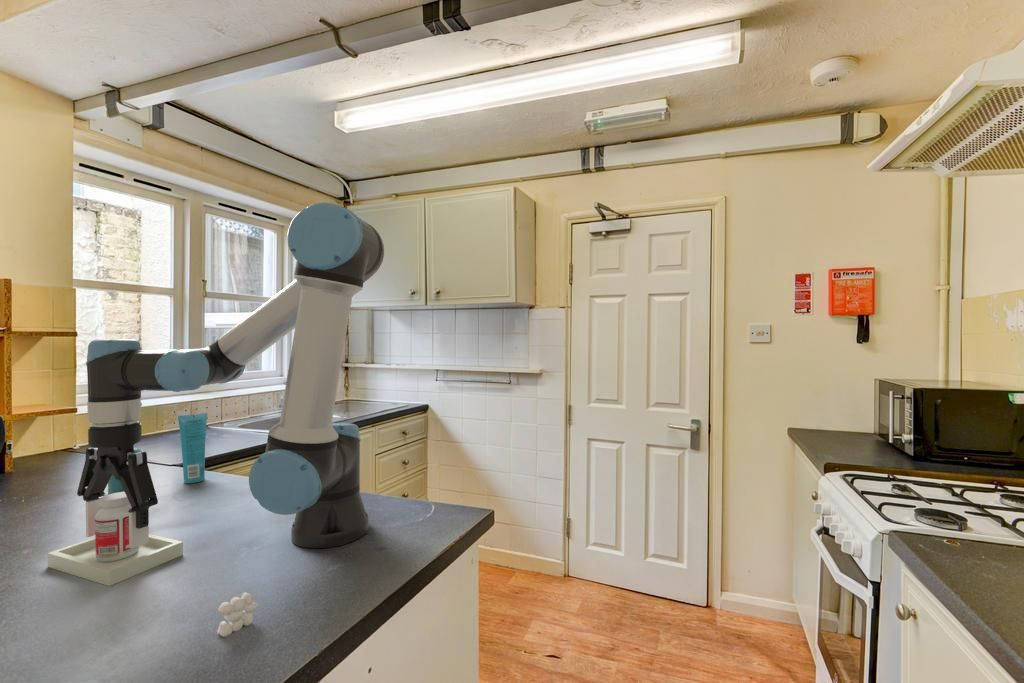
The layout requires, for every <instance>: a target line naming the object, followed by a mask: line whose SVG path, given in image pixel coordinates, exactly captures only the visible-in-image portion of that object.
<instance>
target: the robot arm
mask: <svg viewBox="0 0 1024 683" xmlns="http://www.w3.org/2000/svg"><path fill="white" fill-rule="evenodd" d="M287 244H288V248H289V251H290V252H291V254H292V256H293V257H294V259H295V260H296V261H295V265H294V266H295V267H294V272H293V278H294V279H295V280H293V281H292V282H291V283H289V284H288V285H287V286H285V287H284V288H283V289H281V290H280V291H279V292H277V293H276V294H275V295H274V296H272V297H271V298H270V299H268V300H267V301H266V302H265V303H263V304H261V305H260V306H259V307H258V308H257V309H255V310H254V311H253V312H251V313H250V314H249V315H247V316H246V317H245V318H243V319H242V320H241V321H239V322H238V323H237V324H236V325H234V326H233V327H231V328H230V329H229V330H228V331H226V332H225V333H224V334H223V335H221V336H220V337H219V338H217V339H216V340H214V341H213V342H212V343H211V344H209V345H208V346H206V347H204V348H186V349H185V348H182V349H181V348H177V349H176V348H175V349H148V350H146V349H142V347H141V342H140V341H139V340H138V339H132V338H131V339H129V338H128V339H127V338H126V339H125V338H124V339H121V338H120V339H118V338H117V339H113V338H112V339H94V340H92V341H90V342H89V344H88V345H87V354H86V355H87V356H86V361H85V365H86V375H87V403H86V404H87V423H88V424H90V426H89V427H88V428H87V441H88V443H87V445H88V446H89V448H85V460H84V464H83V469H82V472H81V476H80V480H79V484H78V488H77V491H76V495H77V496H78V497H82V499H83V502H85V537H86V538H90V537H93V536H94V537H95V515H96V513H97V512H98V511H99V510H101V509H102V507H100V499H101V498H102V497H103V496H106V495H107V493H105V490H106V488H107V487H108V482H109V480H110V478H111V476H112V475H114V477H115V479H117V480H119V481H120V483H121V485H122V487H123V489H124V491H125V494H126V496H127V498H128V500H129V502H130V505H131V507H132V508H131V509H130V510H129V511H128V512H129V548H135V547H137V546H140V545H143V544H145V543H148V542H149V534H150V532H149V523H150V520H149V516H150V515H149V508H151V507H153V506H157V505H158V503H159V500H158V496H157V493H156V490H155V486H154V482H153V479H152V476H151V472H150V468H149V465H148V453H147V451H145V450H144V451H143V450H142V452H138V453H135V451H134V448H135V443H136V444H138V443H140V442H141V440H142V434H143V433H142V423H141V421H139V420H140V419H141V418H142V406H143V403H142V400H141V399H142V392H143V391H154V392H155V391H157V392H158V391H160V392H177V393H179V392H185V391H195V390H198V389H200V388H202V386H203V387H204V386H208V385H215V384H216V385H219V384H220V385H222V384H227V383H229V382H231V381H235V380H237V379H239V378H240V377H241V376H242V375H243V374H244V372H245V369H246V365H248V364H249V363H251V362H252V361H253V360H254V359H256V358H257V357H259V356H260V355H261V354H262V353H264V352H265V351H267V349H269V348H271V347H272V346H273V345H275V344H276V343H277V342H279V341H280V340H281V339H282V338H284V337H285V336H287V335H288V334H289V333H290V332H292V331H294V332H293V338H292V345H291V350H290V351H291V352H290V357H289V364H288V370H287V376H286V382H285V388H284V395H283V400H282V407H281V408H282V409H281V411H280V412H281V413H280V419H279V422H278V423H276V424H275V425H273V426H272V427H271V428H270V429H269V430H268V435H267V440H266V446H265V447H266V448H265V452H263V453H262V454H260V456H258V457H257V459H256V460H255V461H254V462H253V464H252V465H251V468H250V470H249V474H248V485H249V489H250V492H251V494H252V495H251V496H252V497H253V498H254V499H255V500H256V501H257V503H258V504H259V505H260V506H261V507H262V508H264V510H266V511H268V512H270V513H273V514H276V515H283V516H290V515H295V517H294V522H293V523H292V526H291V529H290V530H291V535H290V536H291V543H292V544H294V545H296V546H298V547H302V548H306V549H323V548H324V549H325V548H332V547H333V548H334V547H339V546H342V545H345V544H349V543H352V542H354V541H356V540H359V539H360V538H362V537H363V536H364V535H366V534H367V532H368V531H369V529H370V528H369V527H370V525H369V521H370V520H369V519H370V518H369V515H368V513H367V512H366V509H365V506H364V505H365V504H364V502H363V499H362V495H361V488H360V486H361V484H360V482H361V478H360V477H361V473H360V472H361V471H360V470H361V468H360V467H361V460H360V459H361V456H360V455H361V451H360V450H361V449H360V448H361V445H360V444H361V437H360V429H359V426H358V425H357V424H354V423H348V422H333V417H334V409H335V404H336V398H337V391H338V386H339V380H340V374H341V370H342V369H341V368H342V361H343V356H344V348H345V344H346V337H347V331H348V325H349V320H350V319H349V318H350V314H351V313H350V312H351V305H352V301H353V297H354V296H355V295H356V294H358V293H359V292H361V291H362V290H363V288H364V283H365V282H367V281H368V280H370V278H372V277H373V276H374V274H376V273H377V272H378V270H379V269H380V268H381V266H382V264H383V263H384V262H383V261H384V257H385V246H384V242H383V240H382V236H381V235H380V233H379V232H378V231H377V230H376V229H375V228H374V227H373V225H372V224H371V225H370V224H369V223H368V222H366V221H364V220H363V219H361V218H360V217H359V216H357V215H356V214H355V213H354V212H353V211H352V210H350V209H349V208H346V207H343V206H341V205H340V204H339V205H338V204H336V203H332V202H324V201H323V202H316V203H313V204H310V205H308V206H306V207H305V208H304V209H302V210H299V212H297V214H296V215H295V216H294V217H293V219H292V220H291V222H290V224H289V226H288V229H287ZM137 465H138V466H137Z"/></svg>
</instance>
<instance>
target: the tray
mask: <svg viewBox="0 0 1024 683" xmlns="http://www.w3.org/2000/svg"><path fill="white" fill-rule="evenodd" d="M181 556H184V541H181V540H176V539H174V538H168V537H164V536H160V535H156V534H151V533H149V542H148V543H145V544H143V545H140V546H139V550H138V551H137V552H136V553H135V554H133V555H131V556H129V557H126V558H123V559H120V560H116V561H110V562H100V561H98V560H97V559H96V541H95V536H94V537H92V538H89V539H85V540H83V541H80V542H76V543H74V544H71V545H69V546H68V545H67V546H65V547H61V548H59V549H56V550H52V551H49V552H48V553H47V568H50V569H53V570H56V571H60V572H63V573H65V574H69V575H71V576H72V575H73V576H76V577H79V578H82V579H85V580H88V581H92V582H95V583H98V584H101V585H104V586H108V587H110V586H113V585H116V584H118V583H120V582H123V581H125V580H127V579H130V578H132V577H135V576H137V575H139V574H141V573H144V572H146V571H149V570H151V569H153V568H155V567H158V566H160V565H163V564H164V563H167V562H170V561H172V560H174V559H177V558H179V557H181Z"/></svg>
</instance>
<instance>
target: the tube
mask: <svg viewBox="0 0 1024 683" xmlns="http://www.w3.org/2000/svg"><path fill="white" fill-rule="evenodd" d="M177 419H178V420H177V421H178V427H179V434H180V437H179V438H180V445H181V455H182V457H181V458H182V459H181V460H182V470H183V483H185V484H193V483H194V484H196V483H199V482H202V481H204V480H205V477H206V476H205V474H206V467H205V463H206V437H207V436H206V434H207V433H206V432H207V419H208V412H202V413H196V414H195V413H194V414H186V415H178V416H177Z"/></svg>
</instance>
